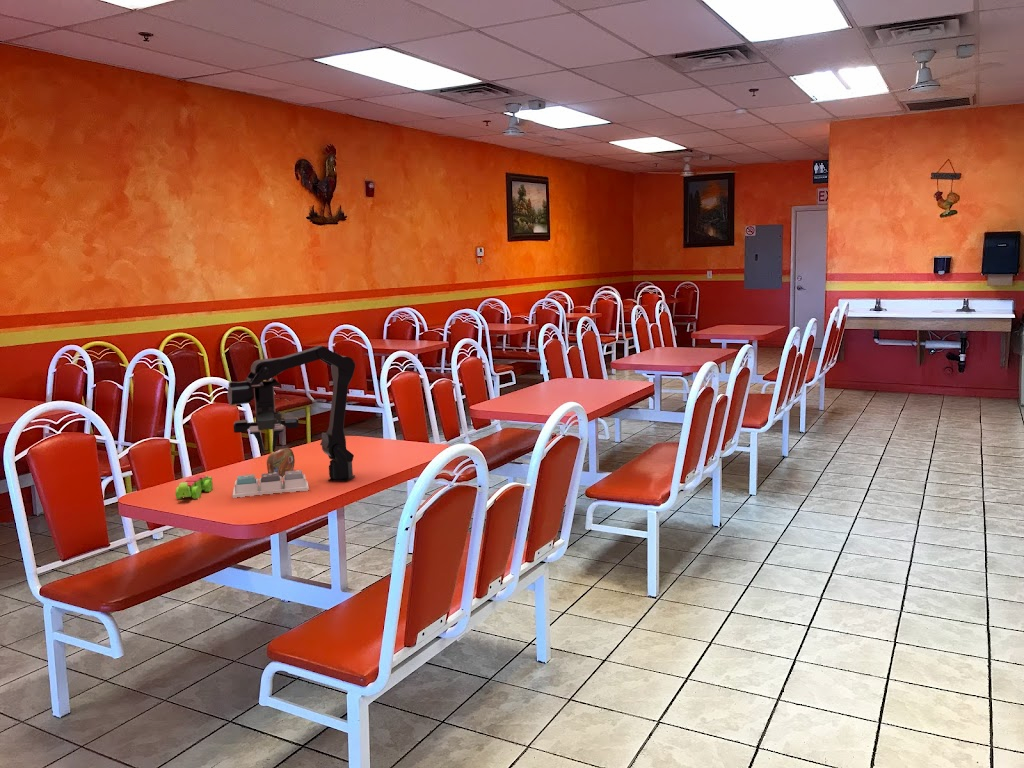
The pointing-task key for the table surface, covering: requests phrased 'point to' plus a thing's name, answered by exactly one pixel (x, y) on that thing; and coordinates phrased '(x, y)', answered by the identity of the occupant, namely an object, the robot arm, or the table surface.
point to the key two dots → (293, 475)
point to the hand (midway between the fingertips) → (268, 452)
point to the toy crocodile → (194, 487)
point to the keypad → (270, 487)
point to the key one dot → (246, 479)
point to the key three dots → (270, 477)
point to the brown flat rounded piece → (281, 461)
